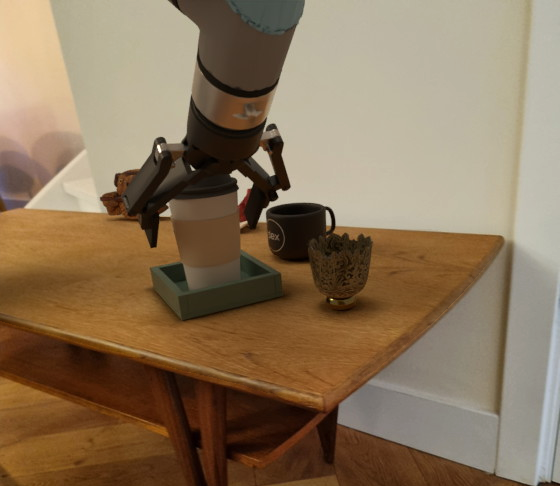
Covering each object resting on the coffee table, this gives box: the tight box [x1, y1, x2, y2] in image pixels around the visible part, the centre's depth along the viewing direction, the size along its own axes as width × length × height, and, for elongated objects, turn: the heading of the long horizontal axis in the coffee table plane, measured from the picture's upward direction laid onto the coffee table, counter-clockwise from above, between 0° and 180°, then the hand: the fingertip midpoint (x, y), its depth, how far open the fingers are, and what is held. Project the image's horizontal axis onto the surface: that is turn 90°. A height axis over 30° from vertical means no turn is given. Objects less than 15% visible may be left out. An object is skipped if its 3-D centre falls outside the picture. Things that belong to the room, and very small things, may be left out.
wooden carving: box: [99, 168, 170, 220], centre depth 114 cm, size 16×5×10 cm, turn 77°
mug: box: [265, 202, 337, 261], centre depth 85 cm, size 12×9×7 cm
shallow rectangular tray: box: [149, 249, 284, 321], centre depth 73 cm, size 14×14×3 cm
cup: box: [307, 232, 374, 311], centre depth 64 cm, size 8×7×8 cm
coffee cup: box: [168, 169, 242, 291], centre depth 70 cm, size 9×9×15 cm
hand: (201, 229), depth 72 cm, fingers open, 13 cm apart
